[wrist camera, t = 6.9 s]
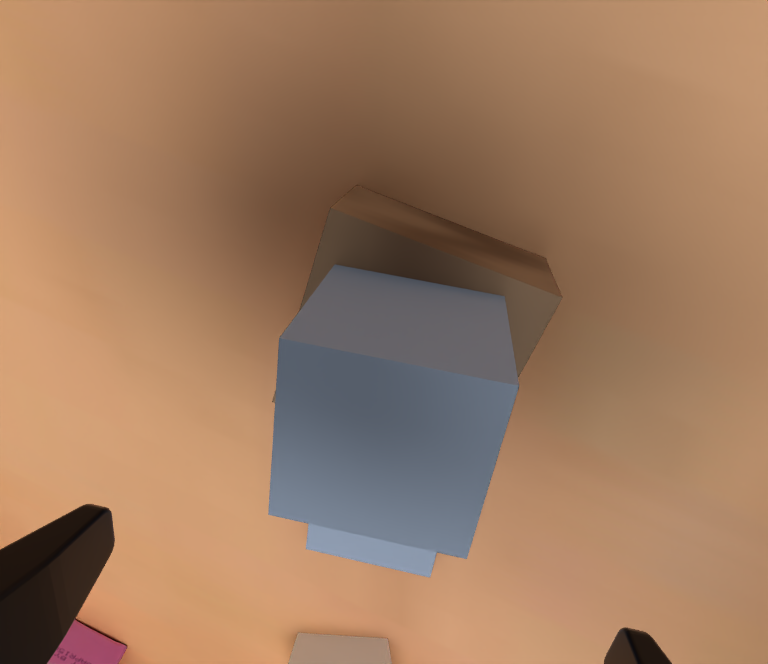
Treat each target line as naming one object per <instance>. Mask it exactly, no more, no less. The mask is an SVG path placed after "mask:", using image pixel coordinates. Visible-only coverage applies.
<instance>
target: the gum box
mask: <svg viewBox="0 0 768 664" xmlns="http://www.w3.org/2000/svg"><path fill="white" fill-rule="evenodd" d="M126 649H127V646H125V645H124V644H121V643H118V642H115V641H114V640H112V639H110V638H108V637H106V636H104V635H102V634H100V633H98V632H96V631H94V630H92V629H90V628H88V627H87V626H85V625H83V624H81V623H80V622H78V621H76V620H74V622H73V624H72V625H71V627H70V629H69V630H68V632H67V634H66V636H65V637H64V639H63V641H62V642H61V644H60V645H59V647H58V648H57V650H56V651H55V653H54V654H53V656H52V657H51V659H50V660H49V662H48V663H47V664H118V663H119V661H120V660H121V658H122V656H123V654H124V653H125V651H126Z"/></svg>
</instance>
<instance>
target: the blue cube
mask: <svg viewBox="0 0 768 664" xmlns="http://www.w3.org/2000/svg"><path fill="white" fill-rule="evenodd" d="M518 388H519V382H518V376H517V370H516V363H515V357H514V351H513V345H512V339H511V333H510V326H509V320H508V314H507V308H506V302H505V296H501V295H495V294H490V293H485V292H479V291H474V290H469V289H463V288H458V287H453V286H447V285H442V284H437V283H431V282H426V281H421V280H415V279H410V278H405V277H399V276H394V275H389V274H383V273H378V272H373V271H367V270H362V269H357V268H351V267H346V266H341V265H334V266H333V267H332V269H331V270H330V271H329V273H328V274H327V275H326V277H325V278H324V279H323V281H322V282H321V283H320V285H319V286H318V287H317V289H316V290H315V291H314V293H313V294H312V295H311V297H310V298H309V299H308V301H307V302H306V303H305V305H304V306H303V307H302V309H301V310H300V311H299V313H298V314H297V315H296V316H295V318H294V319H293V320H292V322H291V323H290V324H289V326H288V327H287V328H286V330H285V331H284V332H283V334H282V335H281V336H280V338H279V350H278V367H277V383H276V399H275V416H274V432H273V448H272V465H271V481H270V497H269V514H268V515H273V516H277V517H281V518H286V519H290V520H295V521H299V522H304V523H308V524H313V525H317V526H322V527H326V528H331V529H335V530H339V531H344V532H348V533H353V534H357V535H362V536H366V537H371V538H375V539H380V540H384V541H389V542H393V543H398V544H402V545H406V546H411V547H415V548H420V549H424V550H429V551H433V552H438V553H442V554H447V555H451V556H456V557H460V558H464V559H467V556H468V553H469V550H470V546H471V543H472V540H473V537H474V533H475V530H476V527H477V523H478V520H479V517H480V513H481V510H482V507H483V504H484V500H485V497H486V494H487V490H488V487H489V484H490V480H491V477H492V474H493V471H494V467H495V464H496V461H497V457H498V454H499V451H500V447H501V444H502V441H503V438H504V434H505V431H506V428H507V424H508V421H509V418H510V414H511V411H512V408H513V405H514V401H515V398H516V395H517V391H518Z"/></svg>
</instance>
